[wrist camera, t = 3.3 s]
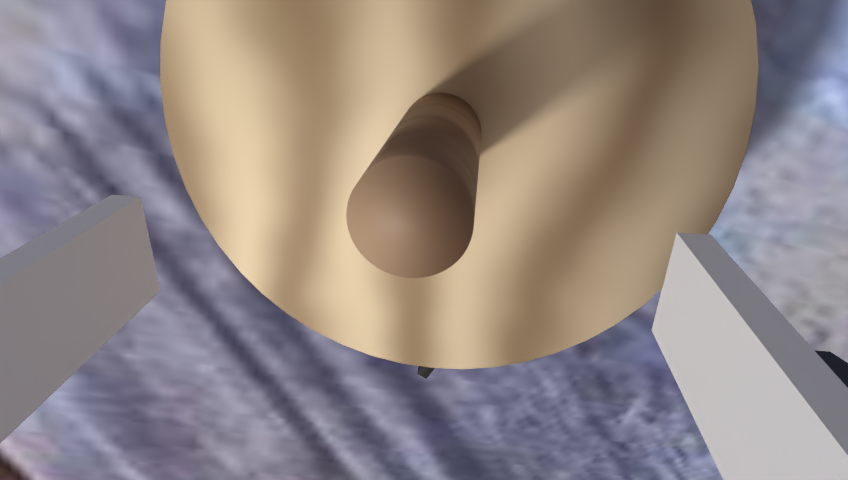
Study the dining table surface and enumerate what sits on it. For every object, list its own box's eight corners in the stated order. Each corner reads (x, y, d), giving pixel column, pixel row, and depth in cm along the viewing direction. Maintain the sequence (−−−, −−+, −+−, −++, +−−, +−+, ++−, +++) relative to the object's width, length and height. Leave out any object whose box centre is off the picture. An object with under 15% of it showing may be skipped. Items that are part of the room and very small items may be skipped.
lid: (213, 336, 32) (87, 493, 22) (117, -227, 21) (-227, -422, 11) (671, 378, 29) (762, 578, 19) (842, -234, 18) (1256, -496, 8)
